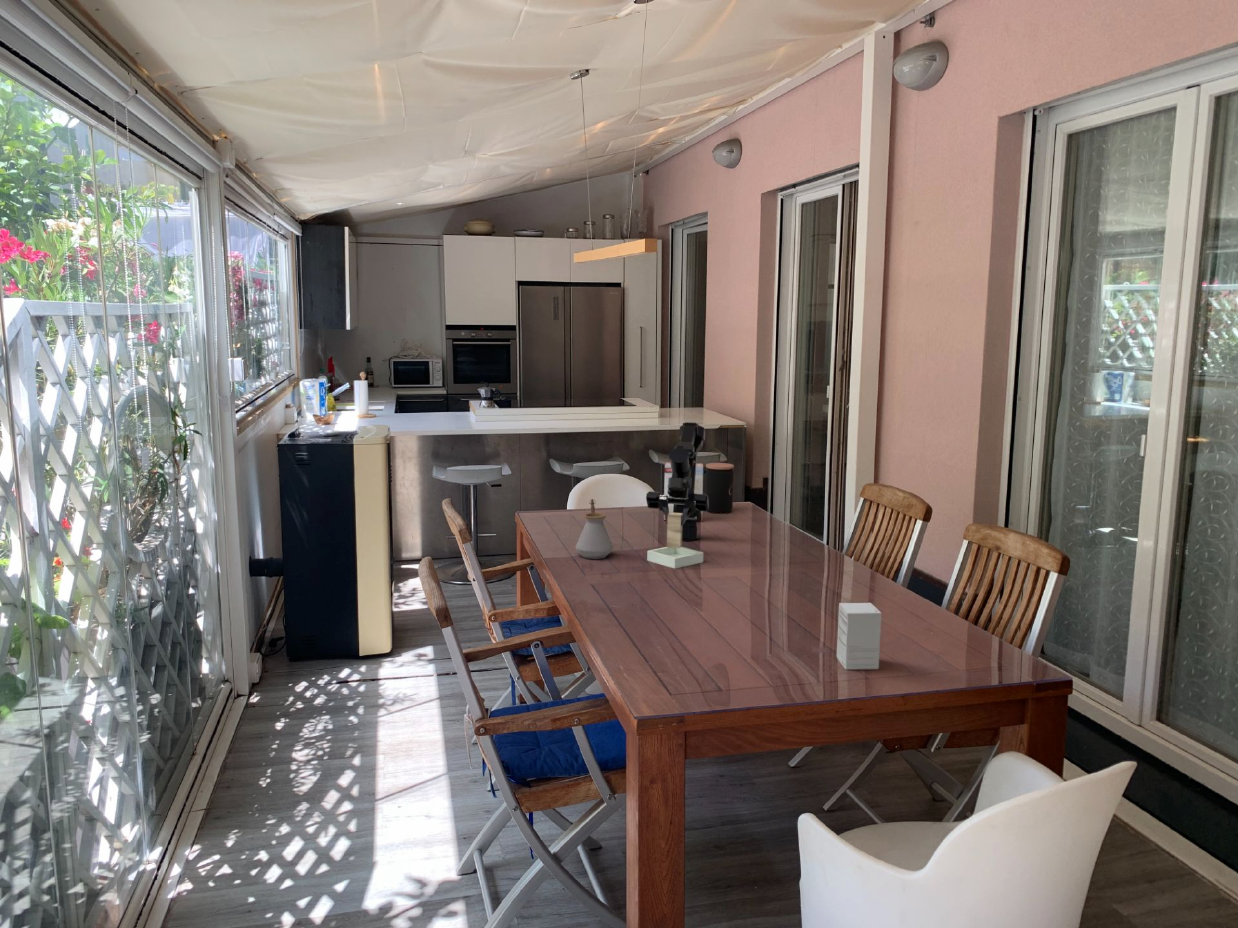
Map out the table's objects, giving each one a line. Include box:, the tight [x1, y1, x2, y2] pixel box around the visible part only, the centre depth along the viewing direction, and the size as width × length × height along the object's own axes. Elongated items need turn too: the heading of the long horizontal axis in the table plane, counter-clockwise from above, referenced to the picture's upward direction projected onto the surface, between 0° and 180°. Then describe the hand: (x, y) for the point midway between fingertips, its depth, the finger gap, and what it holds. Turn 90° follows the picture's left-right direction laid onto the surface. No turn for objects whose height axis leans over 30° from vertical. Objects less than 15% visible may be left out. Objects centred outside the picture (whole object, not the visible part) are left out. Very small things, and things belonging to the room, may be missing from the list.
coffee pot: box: [575, 499, 614, 560], centre depth 294 cm, size 21×12×15 cm, turn 5°
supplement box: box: [836, 602, 882, 671], centre depth 202 cm, size 7×7×13 cm
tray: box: [646, 546, 704, 569], centre depth 285 cm, size 12×12×3 cm
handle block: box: [666, 513, 683, 549], centre depth 284 cm, size 4×4×10 cm
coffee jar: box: [704, 462, 735, 515], centre depth 359 cm, size 11×11×18 cm
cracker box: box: [663, 462, 704, 522], centre depth 343 cm, size 14×6×21 cm, turn 84°
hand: (674, 524), depth 282 cm, fingers closed on handle block, 4 cm apart
